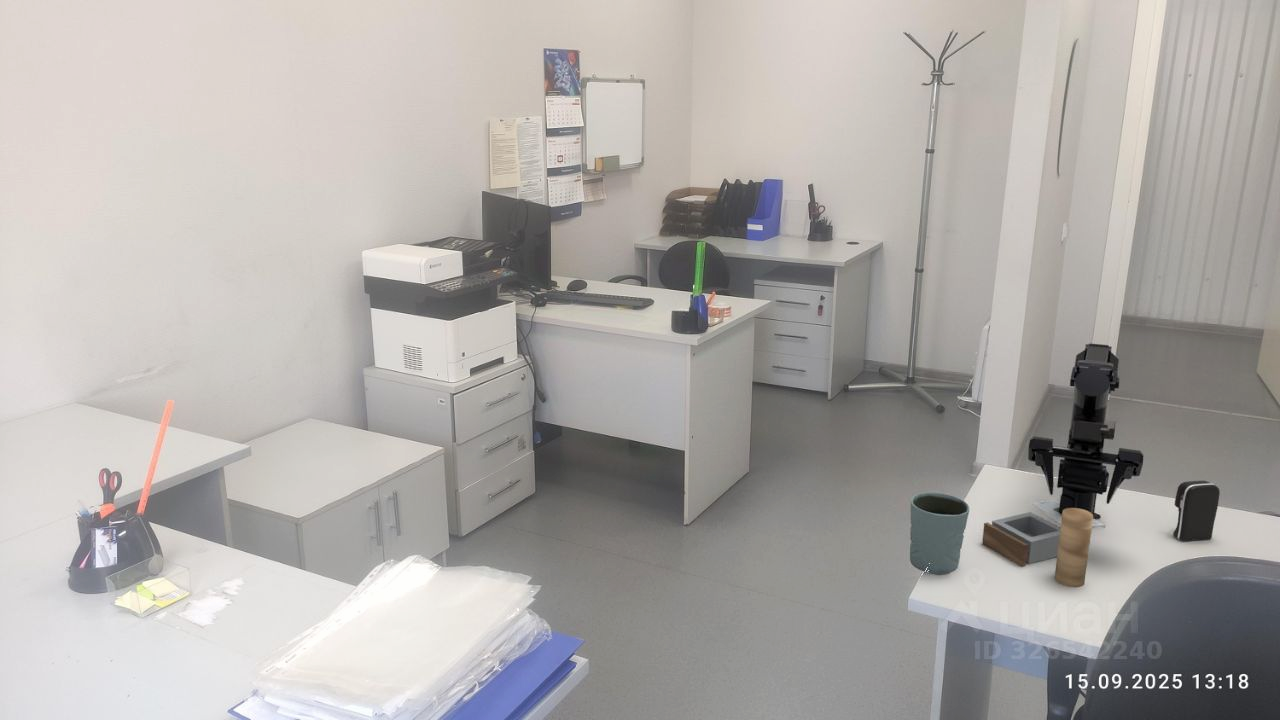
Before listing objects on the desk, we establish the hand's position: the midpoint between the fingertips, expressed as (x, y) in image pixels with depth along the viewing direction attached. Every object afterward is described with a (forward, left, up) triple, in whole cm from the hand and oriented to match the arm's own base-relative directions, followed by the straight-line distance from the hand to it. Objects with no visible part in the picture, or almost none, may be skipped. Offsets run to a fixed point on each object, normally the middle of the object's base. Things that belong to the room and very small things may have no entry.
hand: (1079, 498), depth 160 cm
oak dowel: (+6, +5, -13) cm, 15 cm away
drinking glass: (+23, -10, -13) cm, 28 cm away
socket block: (+3, -7, -13) cm, 15 cm away
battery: (-29, +2, -13) cm, 32 cm away
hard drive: (-16, -15, -14) cm, 26 cm away
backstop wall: (+9, -7, -13) cm, 17 cm away
